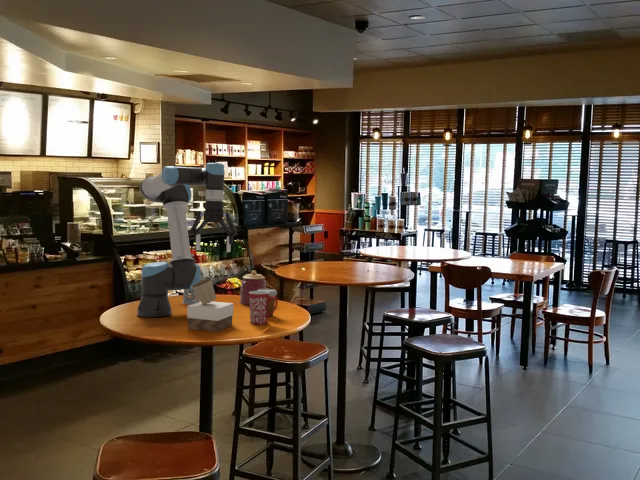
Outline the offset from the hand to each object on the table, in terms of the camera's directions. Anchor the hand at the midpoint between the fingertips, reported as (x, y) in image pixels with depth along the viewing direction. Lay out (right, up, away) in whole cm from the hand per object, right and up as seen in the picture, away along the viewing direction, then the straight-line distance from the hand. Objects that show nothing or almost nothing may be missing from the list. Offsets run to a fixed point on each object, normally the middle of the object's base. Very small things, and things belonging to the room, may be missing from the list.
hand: (213, 251), depth 267 cm
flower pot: (-1, -21, -2) cm, 21 cm away
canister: (+11, -28, +54) cm, 62 cm away
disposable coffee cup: (+20, -31, +26) cm, 45 cm away
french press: (-21, -27, +53) cm, 63 cm away
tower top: (-1, -27, -1) cm, 27 cm away
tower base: (-1, -32, -1) cm, 32 cm away
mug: (+20, -32, +10) cm, 39 cm away
